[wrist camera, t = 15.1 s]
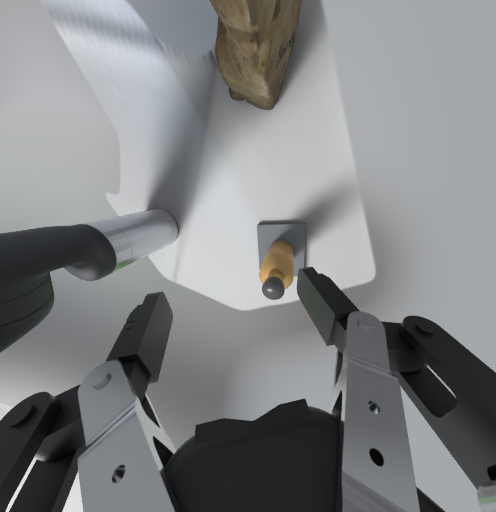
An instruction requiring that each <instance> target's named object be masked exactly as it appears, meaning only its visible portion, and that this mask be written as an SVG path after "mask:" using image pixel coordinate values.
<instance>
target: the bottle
mask: <svg viewBox="0 0 496 512" xmlns="http://www.w3.org/2000/svg"><path fill="white" fill-rule="evenodd" d="M293 270H294V249H293V247H292V245H291V244H290V243H289V242H287V241H284V240H277V241H275V242H273V243H272V244H271V245H270V247H269V249H268V252H267V254H266V257H265V259H264V262H263V264H262V267H261V269H260V273H259V277H260V280H261V282H262V284H263V287H262V292H263V294H264V295H265V296H266V297H267V298H269V299H272V300H277V299H280V298H281V297H282V296H283V295H284V289H286V288H288V287H289V286H290V285H291V283H292V281H293Z"/></svg>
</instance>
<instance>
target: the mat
mask: <svg viewBox="0 0 496 512" xmlns="http://www.w3.org/2000/svg"><path fill="white" fill-rule="evenodd" d="M305 228H306V223H288V224H258V225H257V233H258V248H259V264H260V269H261V267H262V264H263V262H264V259H265V257H266V254H267V252H268V249H269V247H270V245H271V244H272V243H273V242H275V241H277V240H284V241H287V242H289V243H290V244H291V245H292V247H293V249H294V270H293V276H298V270H299V269H301V268H304V254H305Z"/></svg>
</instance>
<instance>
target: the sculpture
mask: <svg viewBox="0 0 496 512" xmlns="http://www.w3.org/2000/svg"><path fill="white" fill-rule="evenodd" d="M210 2H211V4H212V6H213V7H214V9H215V10H216V13H217V14H218V30H217V38H216V57H217V63H218V68H219V71H220V73H221V75H222V77H223V79H224V81H225V82H226V83H227V84H228V86H229V93H230V96H231V98H232V99H235V100H239V101H242V100H244V99H246V101H247V102H249V103H250V104H252V105H254V106H256V107H258V108H260V109H264V110H270V109H273V108H274V106H275V103H276V100H277V97H278V94H279V91H280V88H281V84H282V80H283V77H284V73H285V70H286V67H287V64H288V60H289V56H290V52H291V49H292V46H293V41H294V37H295V33H296V28H297V24H298V19H299V11H300V5H301V0H210Z"/></svg>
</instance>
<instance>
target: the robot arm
mask: <svg viewBox="0 0 496 512" xmlns="http://www.w3.org/2000/svg"><path fill="white" fill-rule="evenodd" d="M177 236H178V227H177V224H176V222H175V220H174V218H173V217H172V216H171V215H170V214H169V213H168V212H166V211H164V210H161V209H154V210H149V211H144V212H139V213H134V214H129V215H124V216H119V217H114V218H109V219H104V220H99V221H95V222H89V223H84V224H78V225H73V226H54V227H43V228H36V229H30V230H23V231H16V232H9V233H2V234H0V352H2V351H3V350H5V349H6V348H7V347H9V346H10V345H11V344H13V343H14V342H16V341H17V340H18V339H20V338H21V337H23V336H24V335H25V334H26V333H28V332H29V331H30V330H32V329H33V328H34V327H35V326H37V325H38V324H39V323H40V322H41V321H42V320H43V319H44V318H45V317H46V316H47V315H48V314H49V312H50V311H51V309H52V306H53V303H54V291H53V286H52V282H51V277H50V271H53V270H56V269H59V268H63V267H64V268H65V269H66V270H67V271H68V272H70V273H71V274H72V275H74V276H76V277H78V278H80V279H82V280H86V281H94V280H98V279H101V278H103V277H105V276H107V275H109V274H111V273H113V272H115V271H117V270H119V269H121V268H123V267H125V266H127V265H129V264H131V263H133V262H135V261H137V260H139V259H141V258H143V257H145V256H147V255H149V254H151V253H153V252H155V251H157V250H159V249H161V248H163V247H165V246H167V245H169V244H171V243H173V242H174V241H175V240H176V238H177ZM297 293H298V296H299V298H300V300H301V302H302V303H303V305H304V307H305V308H306V310H307V312H308V314H309V315H310V317H311V319H312V321H313V322H314V324H315V326H316V327H317V329H318V331H319V333H320V335H321V336H322V338H323V340H324V341H325V343H326V345H327V346H329V345H334V344H335V346H336V347H337V349H338V350H337V355H336V365H335V374H334V384H333V391H332V396H331V401H330V407H329V413H328V412H326V411H323V410H321V409H318V408H314V407H308V405H307V403H306V400H305V399H301V400H297V401H293V402H289V403H284V404H280V405H278V406H277V407H275V408H273V409H272V410H270V411H269V412H267V413H266V414H264V415H263V416H261V417H260V418H258V419H256V420H254V421H246V420H236V419H226V418H223V419H219V420H215V421H211V422H207V423H203V424H199V425H196V430H195V435H194V436H192V437H191V438H190V439H189V440H187V441H186V442H185V443H184V444H183V445H182V446H181V447H180V448H179V449H178V450H177V451H176V450H175V448H174V446H173V444H172V442H171V440H170V439H169V437H168V436H167V435H166V433H165V431H164V429H163V427H162V425H161V423H160V421H159V419H158V417H157V414H156V412H155V410H154V408H153V406H152V404H151V402H150V400H149V397H148V395H147V394H146V390H147V386H148V384H150V383H155V382H158V378H159V374H160V369H161V365H162V361H163V357H164V353H165V349H166V345H167V341H168V337H169V332H170V329H171V324H172V319H173V314H172V310H171V308H170V306H169V303H168V301H167V299H166V296H165V294H164V293H163V292H157V293H151V294H147V296H146V297H145V300H144V302H143V304H142V305H138V306H137V307H136V308H135V309H134V310H133V311H132V312H131V313H130V315H129V317H128V319H127V321H126V324H125V325H124V327H123V329H122V331H121V333H120V335H119V337H118V338H117V340H116V342H115V344H114V346H113V348H112V350H111V352H110V354H109V356H108V358H107V360H106V362H105V363H102V364H100V365H99V366H97V367H96V368H94V369H93V370H92V371H91V372H90V373H89V374H88V375H87V376H86V377H85V379H84V380H83V381H82V383H81V384H80V385H78V386H76V387H74V388H71V389H70V390H68V391H65V392H63V393H61V394H59V395H57V396H55V397H54V396H52V395H51V394H49V393H47V392H40V393H36V394H34V395H32V396H30V397H28V398H26V399H24V400H23V401H21V402H20V403H19V404H17V405H16V406H15V407H14V408H12V409H11V410H10V411H9V412H8V413H7V414H6V415H5V416H4V417H3V418H2V420H1V421H0V512H5V511H6V509H7V506H8V504H9V502H10V500H11V498H12V497H13V495H14V492H15V491H16V489H17V487H18V486H19V484H20V482H21V480H22V478H23V476H24V475H25V473H26V471H27V469H28V467H29V465H30V464H31V462H32V460H33V458H35V459H37V460H36V462H35V464H34V466H33V468H32V469H31V471H30V474H29V475H28V477H27V479H26V481H25V483H24V484H23V486H22V488H21V490H20V492H19V494H18V496H17V498H16V499H15V501H14V503H13V505H12V507H11V509H10V511H9V512H62V510H63V508H64V505H65V503H66V500H67V498H68V495H69V492H70V490H71V487H72V485H73V482H74V480H75V477H76V474H77V472H79V479H80V487H81V495H82V503H83V511H84V512H445V511H444V510H443V509H442V508H440V507H439V506H438V505H437V504H436V503H435V502H433V501H432V500H431V499H430V498H429V497H428V496H427V495H425V494H424V493H423V492H422V491H421V490H420V489H419V488H417V487H416V483H415V477H414V471H413V465H412V458H411V452H410V446H409V439H408V433H407V427H406V421H405V415H404V408H403V402H402V396H401V389H400V385H401V387H402V388H403V390H404V391H405V392H406V393H407V395H408V396H409V398H410V399H411V400H412V402H413V403H414V404H415V406H416V407H417V408H418V410H419V411H420V413H421V414H422V415H423V417H424V418H425V419H426V421H427V422H428V423H429V425H430V426H431V428H432V429H433V430H434V431H435V433H436V434H437V436H438V437H439V438H440V440H441V441H442V442H443V444H444V445H445V446H446V448H447V449H448V451H449V452H450V453H451V455H452V456H453V457H454V459H455V460H456V461H457V463H458V464H459V466H460V467H461V468H462V470H463V471H464V472H465V474H466V475H467V476H468V478H469V479H470V480H471V482H472V483H473V485H474V486H475V487H476V489H477V490H478V493H477V496H478V501H479V505H480V508H481V510H482V512H496V373H495V372H494V371H493V370H492V369H490V368H489V367H488V366H487V365H486V364H484V363H483V362H482V361H481V360H480V359H478V358H477V357H476V356H475V355H474V354H472V353H471V352H470V351H469V350H468V349H466V348H465V347H464V346H463V345H462V344H460V343H459V342H458V341H457V340H456V339H454V338H453V337H452V336H451V335H450V334H448V333H447V332H446V331H445V330H443V329H442V328H441V327H440V326H439V325H437V324H436V323H434V322H432V321H430V320H428V319H426V318H423V317H419V316H407V317H405V319H404V320H403V322H402V323H392V322H381V321H379V319H377V318H376V317H375V316H373V315H371V314H369V313H366V312H362V311H359V310H358V309H357V307H356V306H355V305H354V304H353V303H352V302H351V301H350V300H349V299H348V298H347V296H346V295H345V294H344V293H343V292H342V291H340V289H339V288H338V287H337V286H336V284H335V283H334V282H333V281H332V280H331V279H330V278H329V277H327V276H325V275H324V274H318V273H317V272H316V270H315V269H314V268H313V267H307V268H301V269H299V270H298V280H297ZM427 365H428V366H429V367H430V368H431V369H432V370H433V371H434V372H435V373H436V374H437V375H438V376H439V377H440V378H441V379H442V381H443V382H445V383H446V385H447V386H448V387H449V388H450V389H451V390H452V392H453V393H454V394H455V396H456V398H457V399H456V398H455V397H454V396H453V395H452V394H451V392H450V391H448V389H447V388H446V387H445V386H444V385H443V384H442V383H441V381H440V380H439V379H438V378H437V377H436V376H435V375H434V374H433V373H432V372H431V371H430V370H429V369H428V368H427ZM391 373H392V374H391Z"/></svg>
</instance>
